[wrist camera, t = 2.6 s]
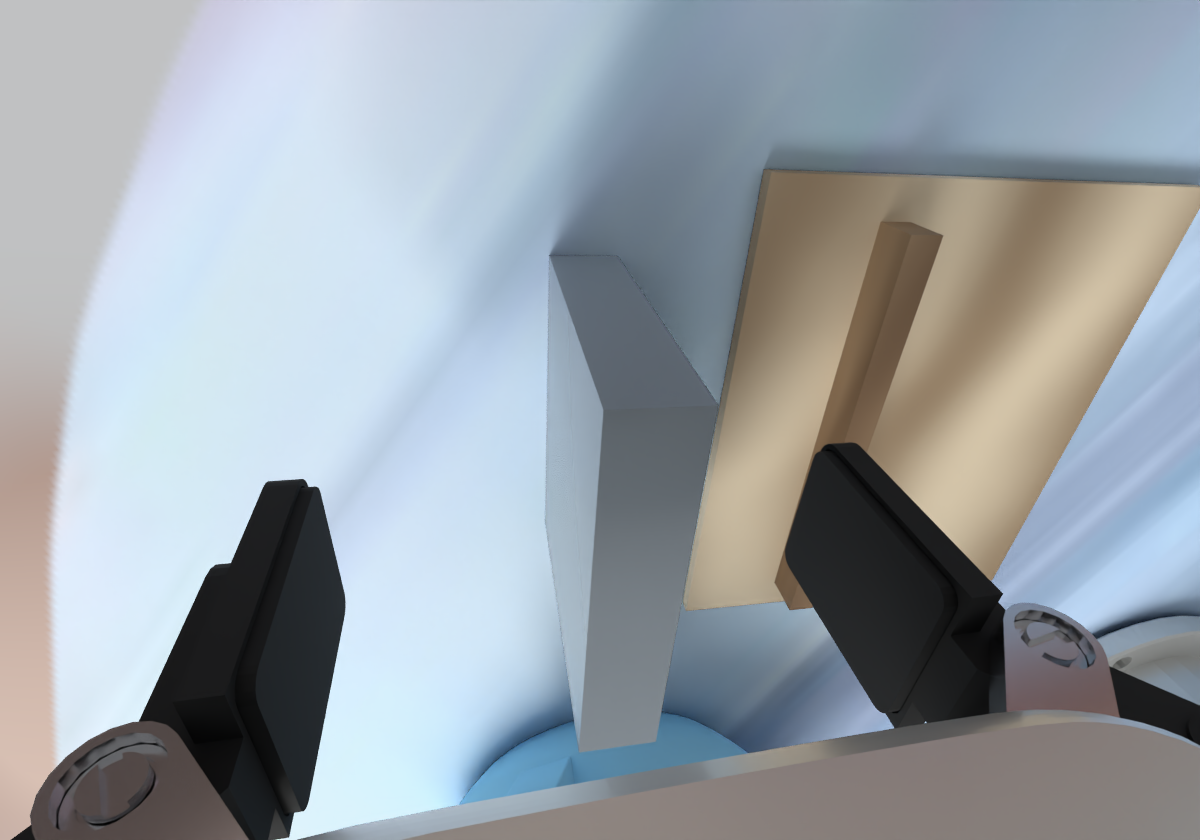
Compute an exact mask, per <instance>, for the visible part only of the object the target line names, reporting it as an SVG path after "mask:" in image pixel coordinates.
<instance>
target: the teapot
mask: <svg viewBox="0 0 1200 840" xmlns="http://www.w3.org/2000/svg"><path fill="white" fill-rule="evenodd" d="M742 754H748V753H747V752H746V751H745V750H744V749H742V748H741V747H739V746H738V745H736V744H735V743H733V742H732V741H730V740H729V739H727V738H725V737H724V736H722V735H721V734H719V733H717V732H716V731H714V730H712V729H711V728H708V727H706V726H704V725H702V724H701V723H699V722H696V721H694V720H692V719H689V718H686V717H683V716H679V715H675V714H669V713H663V712H661V716H660V722H659V727H658V732H657V738H656V742H651V743H644V744H636V745H629V746H622V747H615V748H608V749H601V750H594V751H587V752H580V753H579V751H578V744H577V737H576V730H575V723H574V721H572V722H569V723H566V724H563V725H560V726H557V727H554V728H552V729H549V730H547V731H545V732H542V733H540V734H538V735H536V736H533V737H532V738H530V739H528V740H526V741H524V742H522V743H521V744H519V745H517V746H516V747H514V748H513V749H511V750H510V751H508V752H507V753H505V754H504V755H503V756H501V757H500V758H499V759H498V760H497V761H495V762H494V763H493V764H492V765H491V766H490V767H489V768H488V769H487V770H486V772H485V773H484V774H483V775H482V776H481V778H480V779H479V780H478V781H477V782H476V783H475V784H474V785H473V787H472V788H471V789H470V790H469V792H468V793H467V794H466V796H465V797H464V798H463V800H462V801H461V803H460V804H459V805H461V804H466V803H472V802H478V801H483V800H489V799H494V798H500V797H505V796H511V795H516V794H522V793H528V792H533V791H539V790H544V789H550V788H555V787H561V786H566V785H572V784H578V783H583V782H589V781H594V780H600V779H605V778H611V777H616V776H622V775H628V774H633V773H639V772H645V771H650V770H656V769H662V768H668V767H673V766H679V765H685V764H690V763H696V762H702V761H707V760H713V759H719V758H725V757H730V756H736V755H742Z"/></svg>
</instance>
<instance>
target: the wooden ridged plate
mask: <svg viewBox="0 0 1200 840" xmlns="http://www.w3.org/2000/svg"><path fill="white" fill-rule="evenodd" d="M1199 209H1200V186H1199V185H1186V184H1159V183H1131V182H1103V181H1076V180H1048V179H1021V178H993V177H966V176H938V175H911V174H883V173H856V172H828V171H800V170H773V169H764V172H763V177H762V182H761V188H760V193H759V198H758V204H757V209H756V214H755V219H754V225H753V230H752V235H751V241H750V246H749V251H748V257H747V262H746V267H745V273H744V278H743V283H742V289H741V294H740V299H739V305H738V310H737V315H736V321H735V326H734V331H733V337H732V342H731V347H730V353H729V358H728V363H727V369H726V374H725V379H724V385H723V390H722V395H721V400H720V406H719V411H718V416H717V422H716V427H715V432H714V438H713V443H712V448H711V454H710V459H709V464H708V470H707V475H706V480H705V486H704V491H703V496H702V502H701V507H700V512H699V518H698V523H697V528H696V534H695V539H694V544H693V550H692V555H691V560H690V566H689V571H688V576H687V581H686V587H685V592H684V597H683V604H684V607H685V610H686V611H691V610H701V609H711V608H721V607H731V606H741V605H751V604H761V603H771V602H781V601H785V603H786V604H787V606H788V608H789V610H795V609H805V608H813V606H812V604H811V602H810V601H809V599H808V598H807V596H806V594H805V593H804V591H803V589H802V588H801V586H800V585H799V583H798V581H797V580H796V578H795V576H794V575H793V573H792V572H791V570H790V568H789V567H788V564H787V562H786V558H785V548H786V545H787V541H788V538H789V535H790V532H791V528H792V525H793V522H794V519H795V516H796V512H797V509H798V506H799V503H800V499H801V496H802V493H803V490H804V487H805V483H806V480H807V477H808V474H809V470H810V467H811V464H812V461H813V458H814V456H815V454H816V453H817V452H820V451H821V449H822V447H823V446H824V445H826V444H833V443H848V442H853V443H857V444H858V445H859V446H861V447H862V449H863V450H864V451H865V452H866V453H867V454H868V455H869V456H870V457H871V458H872V459H873V460H874V461H875V462H876V463H877V464H878V465H879V466H880V467H881V468H882V469H883V470H884V471H885V472H886V473H887V474H888V475H889V476H890V477H891V479H892V480H893V481H894V482H895V483H896V484H897V485H898V486H899V487H900V488H901V489H902V490H903V491H904V492H905V493H906V494H907V495H908V496H909V497H910V498H911V499H912V500H913V501H914V502H915V503H916V504H917V505H918V506H919V507H920V509H921V510H922V511H923V512H924V513H925V514H926V515H927V516H928V517H929V518H930V519H931V520H932V521H933V522H934V523H935V524H936V525H937V526H938V527H939V528H940V529H941V530H942V531H943V532H944V533H945V534H946V535H947V536H948V537H949V539H950V540H951V541H952V542H953V543H954V544H955V545H956V546H957V547H958V548H959V549H960V550H961V551H962V552H963V553H964V554H965V555H966V556H967V557H968V558H969V559H970V560H971V561H972V562H973V563H974V564H975V565H976V566H977V567H978V569H979V570H980V571H981V572H982V573H983V574H984V575H985V576H986V577H987V578H988V579H989V580H992V579H993V578H994V576H995V574H996V572H997V570H998V569H999V567H1000V565H1001V563H1002V561H1003V560H1004V558H1005V556H1006V554H1007V552H1008V551H1009V549H1010V547H1011V545H1012V544H1013V542H1014V540H1015V538H1016V536H1017V535H1018V533H1019V531H1020V529H1021V527H1022V526H1023V524H1024V522H1025V520H1026V518H1027V517H1028V515H1029V513H1030V511H1031V509H1032V508H1033V506H1034V504H1035V502H1036V501H1037V499H1038V497H1039V495H1040V493H1041V492H1042V490H1043V488H1044V486H1045V484H1046V483H1047V481H1048V479H1049V477H1050V475H1051V474H1052V472H1053V470H1054V468H1055V466H1056V465H1057V463H1058V461H1059V459H1060V458H1061V456H1062V454H1063V452H1064V450H1065V449H1066V447H1067V445H1068V443H1069V441H1070V440H1071V438H1072V436H1073V434H1074V432H1075V431H1076V429H1077V427H1078V425H1079V423H1080V422H1081V420H1082V418H1083V416H1084V415H1085V413H1086V411H1087V409H1088V407H1089V406H1090V404H1091V402H1092V400H1093V398H1094V397H1095V395H1096V393H1097V391H1098V389H1099V388H1100V386H1101V384H1102V382H1103V380H1104V379H1105V377H1106V375H1107V373H1108V372H1109V370H1110V368H1111V366H1112V364H1113V363H1114V361H1115V359H1116V357H1117V355H1118V354H1119V352H1120V350H1121V348H1122V346H1123V345H1124V343H1125V341H1126V339H1127V337H1128V336H1129V334H1130V332H1131V330H1132V329H1133V327H1134V325H1135V323H1136V321H1137V320H1138V318H1139V316H1140V314H1141V312H1142V311H1143V309H1144V307H1145V305H1146V303H1147V302H1148V300H1149V298H1150V296H1151V294H1152V293H1153V291H1154V289H1155V287H1156V286H1157V284H1158V282H1159V280H1160V278H1161V277H1162V275H1163V273H1164V271H1165V269H1166V268H1167V266H1168V264H1169V262H1170V260H1171V259H1172V257H1173V255H1174V253H1175V252H1176V250H1177V248H1178V246H1179V244H1180V243H1181V241H1182V239H1183V237H1184V235H1185V234H1186V232H1187V230H1188V228H1189V226H1190V225H1191V223H1192V221H1193V219H1194V217H1195V216H1196V214H1197V212H1198V210H1199Z"/></svg>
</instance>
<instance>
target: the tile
mask: <svg viewBox="0 0 1200 840" xmlns="http://www.w3.org/2000/svg"><path fill="white" fill-rule="evenodd" d="M718 406H719V405H718V404H717V402H716V401H715V399H714V398H713V396H712V395H711V393H710V392H709V391H708V389H707V388H706V386H705V385H704V383H703V382H702V380H701V379H700V377H699V376H698V374H697V373H696V371H695V370H694V368H693V367H692V365H691V364H690V362H689V361H688V359H687V358H686V356H685V355H684V353H683V352H682V350H681V349H680V348H679V346H678V345H677V343H676V342H675V340H674V339H673V337H672V336H671V334H670V333H669V331H668V330H667V328H666V327H665V325H664V324H663V322H662V321H661V319H660V318H659V316H658V315H657V313H656V312H655V310H654V309H653V308H652V306H651V305H650V303H649V302H648V300H647V299H646V297H645V296H644V294H643V293H642V291H641V290H640V288H639V287H638V285H637V284H636V282H635V281H634V279H633V278H632V276H631V275H630V273H629V272H628V270H627V269H626V267H625V266H624V265H623V263H622V262H621V260H620V259H619V257H618V256H581V255H549V300H548V366H547V433H546V499H545V525H546V532H547V539H548V545H549V552H550V559H551V566H552V573H553V580H554V586H555V593H556V600H557V607H558V614H559V621H560V627H561V634H562V641H563V648H564V655H565V662H566V668H567V675H568V682H569V689H570V696H571V703H572V710H573V716H574V723H575V730H576V737H577V744H578V751H579V753H580V752H587V751H594V750H601V749H608V748H615V747H622V746H629V745H636V744H644V743H651V742H656V738H657V732H658V727H659V722H660V716H661V711H662V706H663V700H664V695H665V690H666V684H667V679H668V674H669V668H670V663H671V658H672V652H673V647H674V641H675V636H676V631H677V625H678V620H679V615H680V609H681V604H682V599H683V593H684V588H685V583H686V577H687V572H688V567H689V561H690V556H691V551H692V545H693V540H694V534H695V529H696V524H697V518H698V513H699V508H700V502H701V497H702V492H703V486H704V481H705V476H706V470H707V465H708V460H709V454H710V449H711V444H712V438H713V433H714V427H715V422H716V417H717V411H718Z"/></svg>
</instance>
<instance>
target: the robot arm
mask: <svg viewBox="0 0 1200 840" xmlns="http://www.w3.org/2000/svg"><path fill="white" fill-rule="evenodd" d="M785 558H786V562H787V564H788V567H789V568H790V570H791V572H792V573H793V575H794V576H795V578H796V580H797V581H798V583H799V585H800V586H801V588H802V589H803V591H804V593H805V594H806V596H807V598H808V599H809V601H810V602H811V604H812V606H813V607H814V609H815V611H816V612H817V614H818V615H819V617H820V619H821V620H822V622H823V623H824V625H825V627H826V628H827V630H828V632H829V633H830V635H831V636H832V638H833V640H834V641H835V643H836V645H837V646H838V648H839V649H840V651H841V653H842V654H843V656H844V658H845V659H846V661H847V662H848V664H849V666H850V667H851V669H852V671H853V672H854V674H855V675H856V677H857V679H858V680H859V682H860V684H861V685H862V687H863V688H864V690H865V692H866V693H867V695H868V697H869V698H870V700H871V701H872V703H873V705H874V706H875V707H876V709H878V710H879V711H880V712H882V713H886V715H887V717H888V718H889V720H890V721H891V723H892V725H893V726H894V729H889V730H883V731H877V732H871V733H865V734H859V735H853V736H847V737H841V738H835V739H829V740H823V741H817V742H812V743H806V744H800V745H794V746H788V747H782V748H776V749H771V750H765V751H759V752H753V753H748V754H742V755H736V756H730V757H725V758H719V759H713V760H707V761H702V762H696V763H690V764H685V765H679V766H673V767H668V768H662V769H656V770H650V771H645V772H639V773H633V774H628V775H622V776H616V777H611V778H605V779H600V780H594V781H589V782H583V783H578V784H572V785H566V786H561V787H555V788H550V789H544V790H539V791H533V792H528V793H522V794H516V795H511V796H505V797H500V798H494V799H489V800H483V801H478V802H472V803H466V804H461V805H456V806H451V807H446V808H441V809H436V810H431V811H426V812H421V813H416V814H411V815H406V816H401V817H396V818H391V819H386V820H380V821H375V822H370V823H365V824H360V825H356V826H351V827H347V828H343V829H339V830H335V831H331V832H327V833H323V834H319V835H315V836H311V837H307V838H303V839H298V840H1200V616H1172V617H1164V618H1157V619H1153V620H1149V621H1145V622H1141V623H1137V624H1133V625H1130V626H1128V627H1125V628H1122V629H1119V630H1117V631H1114V632H1111V633H1108V634H1106V635H1104V636H1102V637H1100V638H1097V639H1096V638H1095V637H1094V636H1093V635H1092V634H1091V633H1090V632H1089V631H1088V630H1087V629H1085V628H1084V627H1083V626H1082V625H1081V624H1079V623H1078V622H1076V621H1075V620H1073V619H1072V618H1070V617H1069V616H1067V615H1065V614H1063V613H1061V612H1059V611H1056V610H1054V609H1052V608H1050V607H1046V606H1042V605H1039V604H1034V603H1018V604H1014V605H1011V606H1010V607H1009V608H1008V609H1007V610H1005V609H1004V608H1003V607H1002V606H1001V605H1000V604H999V603H998V601H999V600H1000V598H1001V596H1002V595H1003V593H1002V592H1001V591H1000V590H999V589H998V588H997V587H996V586H995V585H994V584H993V583H992V582H991V581H990V580H989V579H988V578H987V577H986V576H985V575H984V574H983V573H982V572H981V571H980V570H979V569H978V567H977V566H976V565H975V564H974V563H973V562H972V561H971V560H970V559H969V558H968V557H967V556H966V555H965V554H964V553H963V552H962V551H961V550H960V549H959V548H958V547H957V546H956V545H955V544H954V543H953V542H952V541H951V540H950V539H949V537H948V536H947V535H946V534H945V533H944V532H943V531H942V530H941V529H940V528H939V527H938V526H937V525H936V524H935V523H934V522H933V521H932V520H931V519H930V518H929V517H928V516H927V515H926V514H925V513H924V512H923V511H922V510H921V509H920V507H919V506H918V505H917V504H916V503H915V502H914V501H913V500H912V499H911V498H910V497H909V496H908V495H907V494H906V493H905V492H904V491H903V490H902V489H901V488H900V487H899V486H898V485H897V484H896V483H895V482H894V481H893V480H892V479H891V477H890V476H889V475H888V474H887V473H886V472H885V471H884V470H883V469H882V468H881V467H880V466H879V465H878V464H877V463H876V462H875V461H874V460H873V459H872V458H871V457H870V456H869V455H868V454H867V453H866V452H865V451H864V450H863V449H862V447H861V446H859V445H858V444H857V443H853V442H848V443H833V444H826V445H824V446H823V447H822V449H821V451H820V452H817V453H816V454H815V456H814V458H813V461H812V464H811V467H810V470H809V474H808V477H807V480H806V483H805V487H804V490H803V493H802V496H801V499H800V503H799V506H798V509H797V512H796V516H795V519H794V522H793V525H792V528H791V532H790V535H789V538H788V541H787V545H786V548H785ZM344 615H345V594H344V590H343V585H342V581H341V577H340V573H339V569H338V564H337V560H336V556H335V552H334V548H333V544H332V539H331V535H330V531H329V527H328V523H327V518H326V514H325V510H324V506H323V502H322V498H321V493H320V490H319V488H318V487H308V485H307V483H306V481H305V480H304V479H297V480H282V481H268V482H267V483H265V485H264V487H263V489H262V491H261V494H260V496H259V499H258V501H257V503H256V506H255V508H254V510H253V513H252V515H251V517H250V520H249V522H248V524H247V527H246V529H245V531H244V534H243V536H242V538H241V541H240V543H239V546H238V548H237V550H236V553H235V555H234V557H233V560H232V562H231V563H229V564H218V565H215V566H214V567H212V568H211V569H210V571H209V572H208V574H207V575H206V577H205V579H204V581H203V584H202V586H201V588H200V590H199V592H198V594H197V597H196V599H195V601H194V603H193V605H192V607H191V610H190V612H189V614H188V616H187V618H186V621H185V623H184V625H183V627H182V629H181V631H180V634H179V636H178V638H177V640H176V642H175V644H174V647H173V649H172V651H171V653H170V655H169V657H168V660H167V662H166V664H165V666H164V668H163V670H162V673H161V675H160V677H159V679H158V681H157V683H156V686H155V688H154V690H153V692H152V694H151V696H150V699H149V701H148V703H147V705H146V707H145V709H144V712H143V714H142V716H141V718H140V720H139V722H131V723H128V724H125V725H122V726H118V727H115V728H112V729H109V730H107V731H105V732H103V733H102V734H100V735H98V736H96V737H94V738H92V739H90V740H88V741H87V742H85V743H84V744H83V745H81V746H80V747H79V748H77V749H76V750H75V751H73V752H72V753H71V754H69V755H68V756H67V757H66V758H65V759H64V760H63V761H62V762H61V763H60V764H59V765H58V766H57V767H56V768H55V769H54V770H53V771H52V772H51V773H50V774H49V776H48V777H47V779H46V780H45V782H44V784H43V785H42V787H41V788H40V790H39V791H38V793H37V795H36V798H35V801H34V804H33V807H32V810H31V814H30V818H31V825H30V826H29V827H28V828H26V829H25V830H24V831H22V832H21V833H20V834H18V835H17V836H16V837H14V838H13V839H11V840H276V839H282V838H287V837H289V835H290V830H291V825H292V820H293V816H294V813H295V812H301V811H304V810H305V809H306V807H307V804H308V801H309V797H310V792H311V786H312V781H313V776H314V771H315V766H316V760H317V755H318V750H319V745H320V740H321V735H322V729H323V724H324V719H325V714H326V709H327V704H328V698H329V693H330V688H331V683H332V678H333V673H334V667H335V662H336V657H337V652H338V647H339V642H340V636H341V631H342V626H343V621H344ZM925 721H926V722H927V723H925ZM924 723H925V724H924Z"/></svg>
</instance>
